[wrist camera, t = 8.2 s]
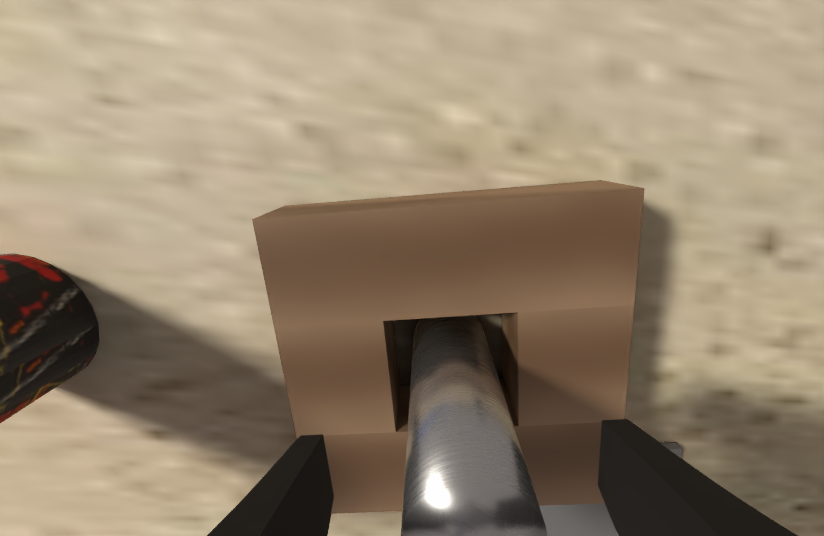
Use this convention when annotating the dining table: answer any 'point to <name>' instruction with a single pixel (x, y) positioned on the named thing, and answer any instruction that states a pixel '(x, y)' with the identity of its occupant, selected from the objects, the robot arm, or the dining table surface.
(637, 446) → the robot arm
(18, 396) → the deodorant
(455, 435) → the peg
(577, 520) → the mat
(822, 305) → the dining table surface
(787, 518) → the dining table surface
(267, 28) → the dining table surface
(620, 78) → the dining table surface
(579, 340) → the hole block
